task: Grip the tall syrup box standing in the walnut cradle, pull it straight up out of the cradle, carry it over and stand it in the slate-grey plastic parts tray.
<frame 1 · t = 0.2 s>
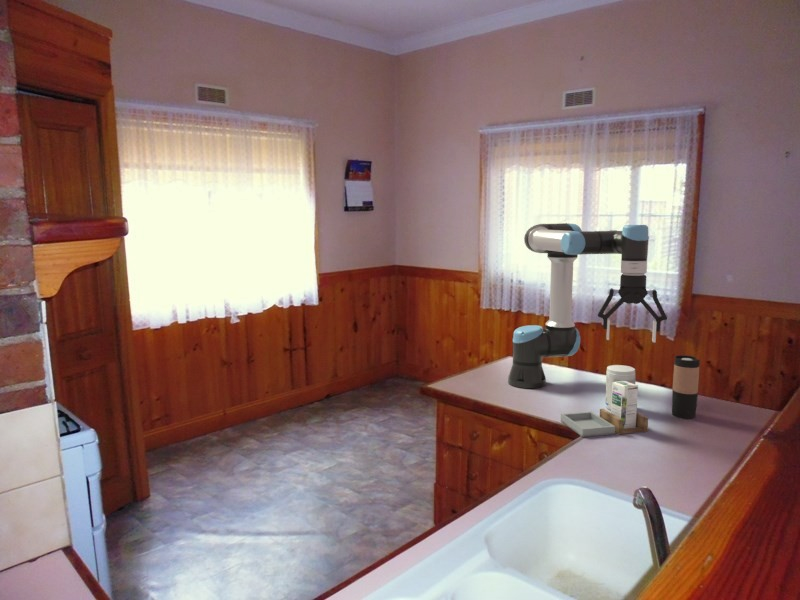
hand: (630, 340, 177), 28 cm above the worktop, fingers open, 13 cm apart
cradle: (622, 426, 178), on the worktop
tray: (586, 427, 178), on the worktop
syrup box: (622, 427, 178), resting in cradle
supplement tub: (619, 409, 196), on the worktop
travel mug: (683, 415, 188), on the worktop
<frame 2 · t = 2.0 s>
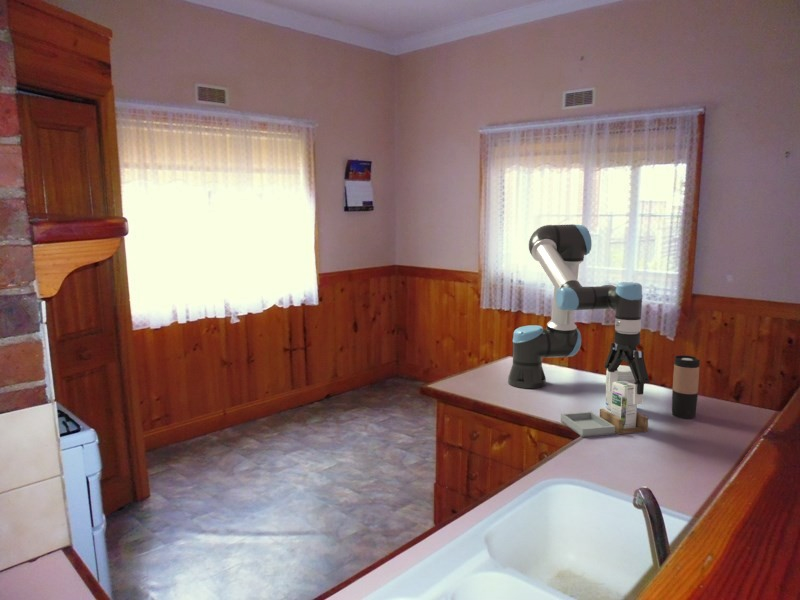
hand: (624, 397, 177), 10 cm above the worktop, fingers open, 13 cm apart
nothing on the worktop moved.
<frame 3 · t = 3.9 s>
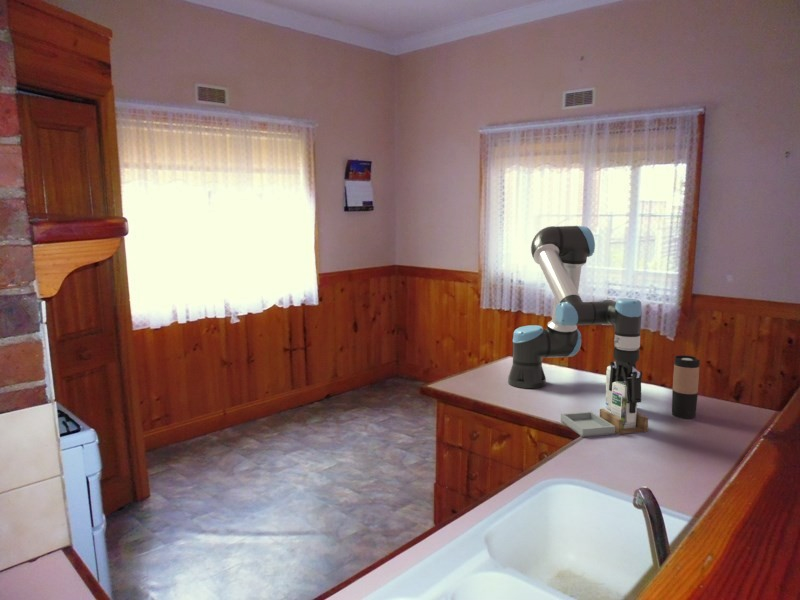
hand: (623, 417, 178), 3 cm above the worktop, fingers closed on syrup box, 6 cm apart
syrup box: (622, 427, 178), resting in cradle, touching gripper
everything else where it was.
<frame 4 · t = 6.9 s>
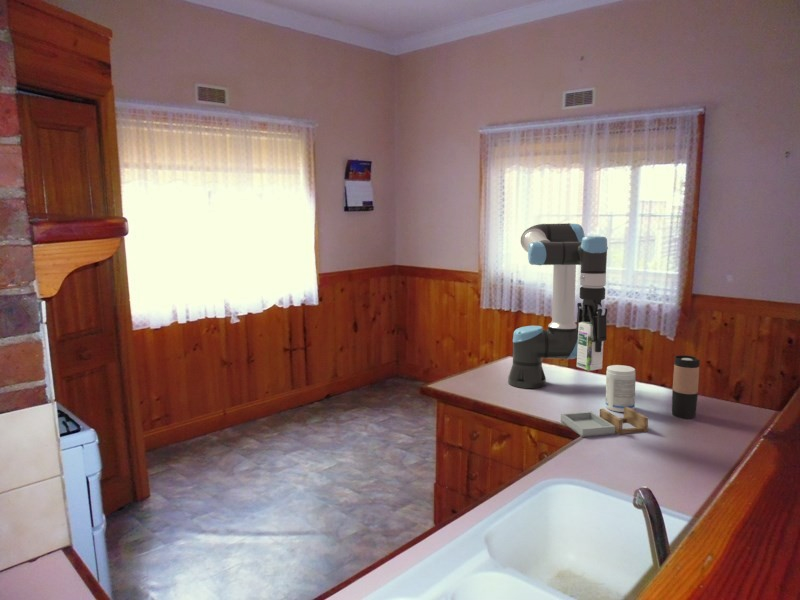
hand: (589, 358, 175), 23 cm above the worktop, fingers closed on syrup box, 6 cm apart
syrup box: (589, 368, 176), point 19 cm above the worktop, touching gripper
everything else where it was.
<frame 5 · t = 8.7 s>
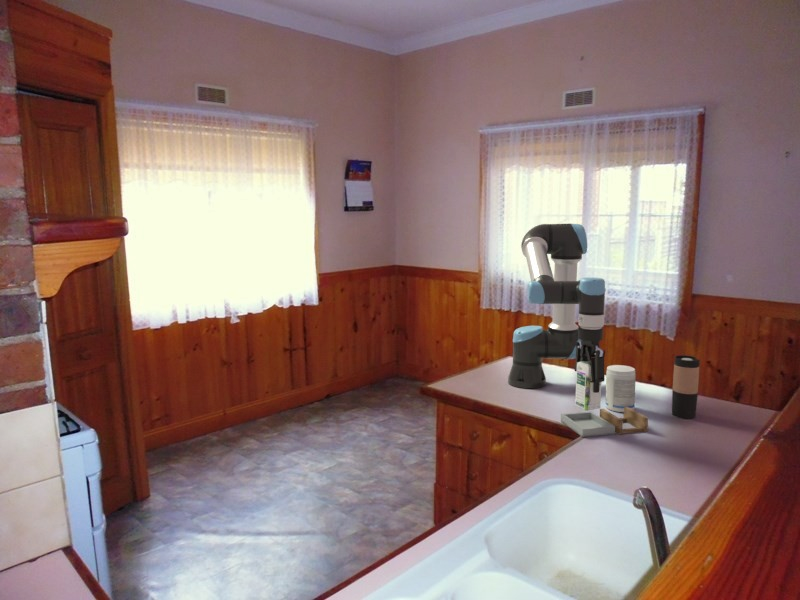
hand: (588, 398, 177), 10 cm above the worktop, fingers closed on syrup box, 6 cm apart
syrup box: (587, 407, 177), point 7 cm above the worktop, touching gripper
everything else where it was.
when the fingers open (5 cm above the worktop, at t = 10.3 s): syrup box drops 1 cm, resting on tray.
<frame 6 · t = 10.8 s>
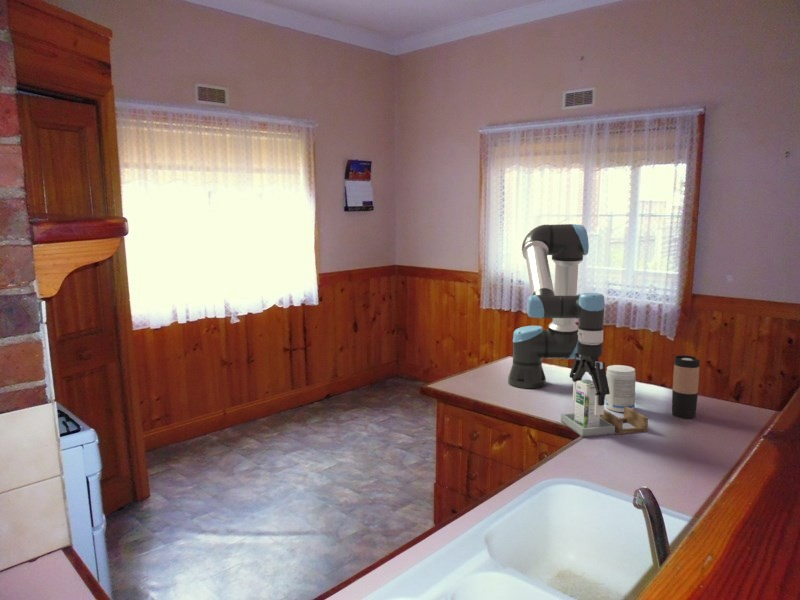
hand: (587, 407, 177), 7 cm above the worktop, fingers open, 13 cm apart
syrup box: (586, 426, 178), resting on tray
everything else where it was.
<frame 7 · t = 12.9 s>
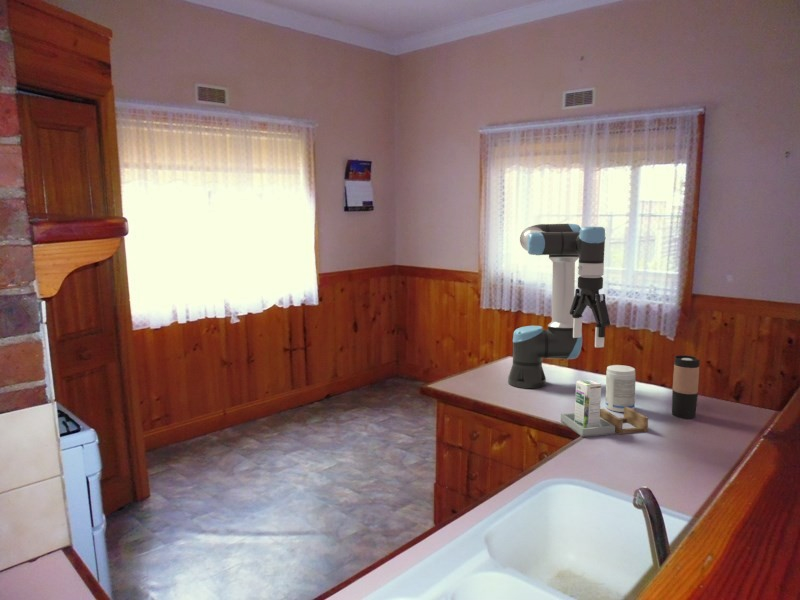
hand: (587, 342, 177), 27 cm above the worktop, fingers open, 13 cm apart
nothing on the worktop moved.
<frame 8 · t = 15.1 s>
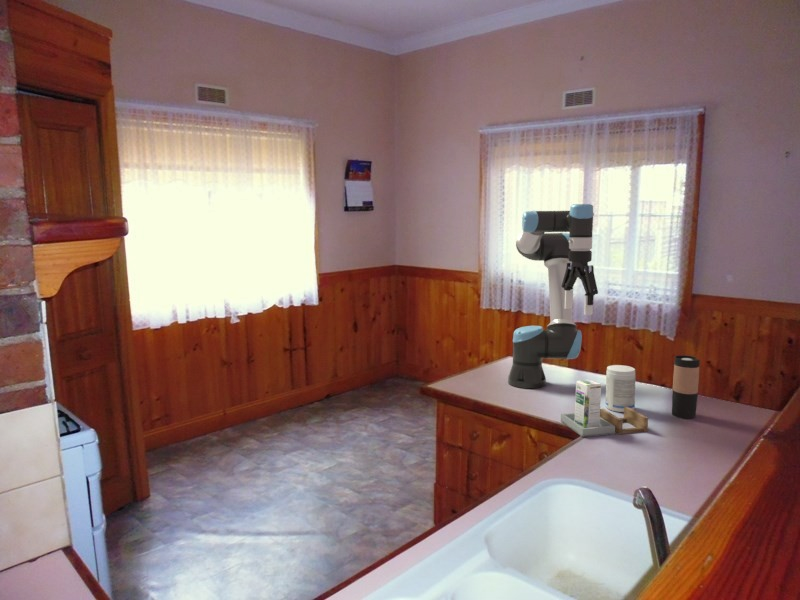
hand: (578, 311, 192), 35 cm above the worktop, fingers open, 13 cm apart
nothing on the worktop moved.
at the end: syrup box inside the target area on the tray (0.1 cm from its centre), point 0.3 cm above the tray's base; syrup box tilted 0°; the gripper is holding nothing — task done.
